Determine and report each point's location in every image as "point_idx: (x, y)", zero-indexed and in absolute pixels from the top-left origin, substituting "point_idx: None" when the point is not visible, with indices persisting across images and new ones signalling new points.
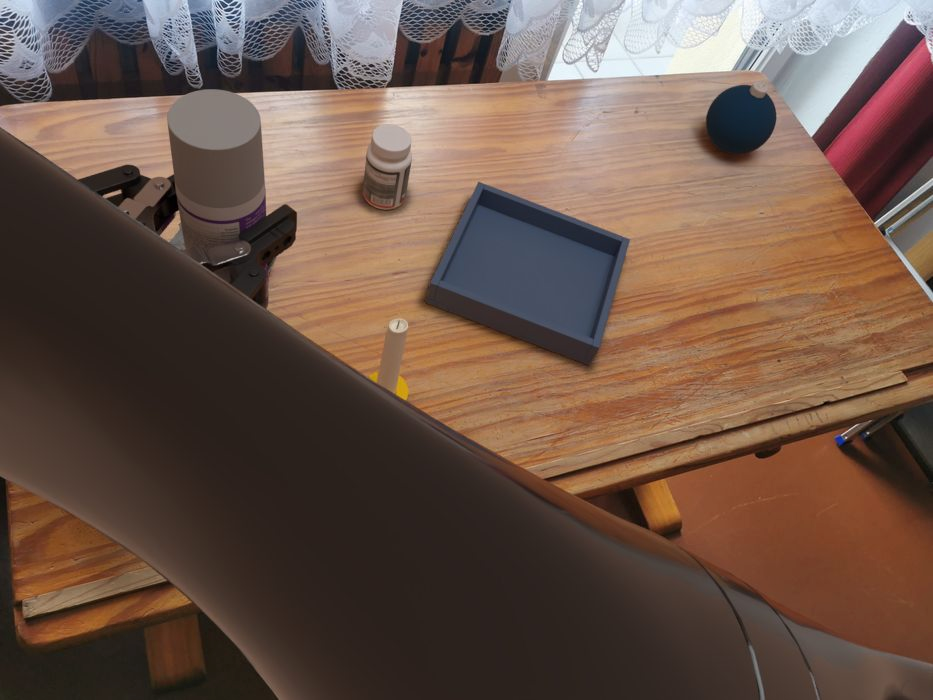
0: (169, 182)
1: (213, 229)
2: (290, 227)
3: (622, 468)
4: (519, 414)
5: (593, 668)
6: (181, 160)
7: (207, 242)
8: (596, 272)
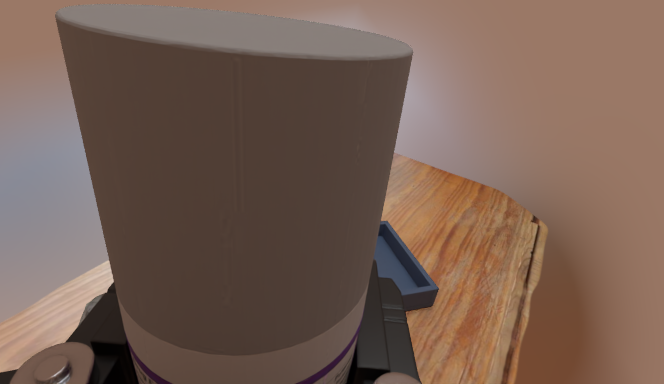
0: (85, 348)
1: None
2: (396, 290)
3: (516, 361)
4: (434, 370)
5: None
6: (205, 192)
7: None
8: (383, 249)
